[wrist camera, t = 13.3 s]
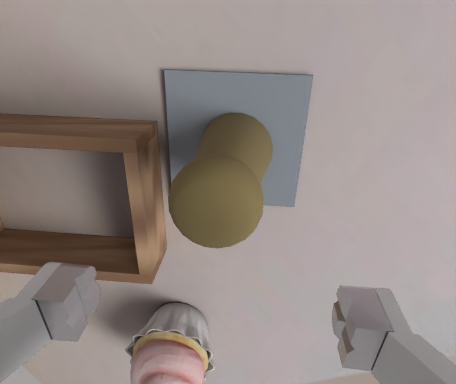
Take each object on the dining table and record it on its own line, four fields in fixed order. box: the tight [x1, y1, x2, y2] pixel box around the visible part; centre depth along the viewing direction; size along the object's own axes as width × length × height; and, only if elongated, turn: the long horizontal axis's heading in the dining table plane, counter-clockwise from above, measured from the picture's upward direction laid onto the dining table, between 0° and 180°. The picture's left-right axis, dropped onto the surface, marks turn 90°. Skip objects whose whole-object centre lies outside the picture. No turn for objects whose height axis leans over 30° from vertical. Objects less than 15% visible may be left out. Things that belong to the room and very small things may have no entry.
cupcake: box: [125, 303, 216, 384], centre depth 31 cm, size 9×9×10 cm
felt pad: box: [164, 69, 313, 207], centre depth 25 cm, size 11×11×1 cm
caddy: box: [0, 114, 167, 284], centre depth 26 cm, size 13×18×5 cm
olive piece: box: [168, 112, 273, 248], centre depth 20 cm, size 6×6×11 cm
